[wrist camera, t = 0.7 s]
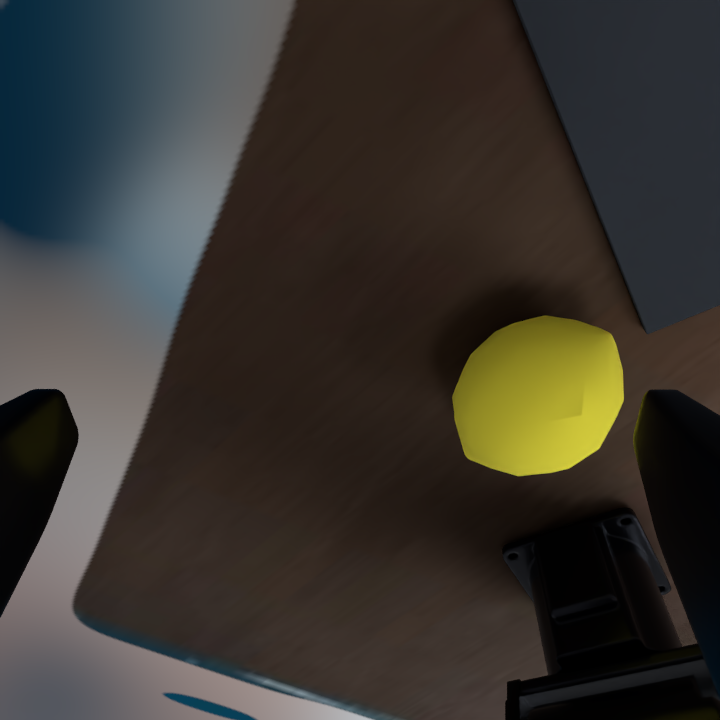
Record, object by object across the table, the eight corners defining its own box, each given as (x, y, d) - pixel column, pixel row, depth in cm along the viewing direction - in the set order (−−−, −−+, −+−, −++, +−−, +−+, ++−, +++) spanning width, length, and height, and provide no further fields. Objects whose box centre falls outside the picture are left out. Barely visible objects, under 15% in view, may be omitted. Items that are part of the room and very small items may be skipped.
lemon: (538, 253, 21) (573, 331, 17) (638, 335, 23) (694, 427, 19) (411, 377, 25) (412, 469, 20) (506, 442, 26) (527, 541, 22)
